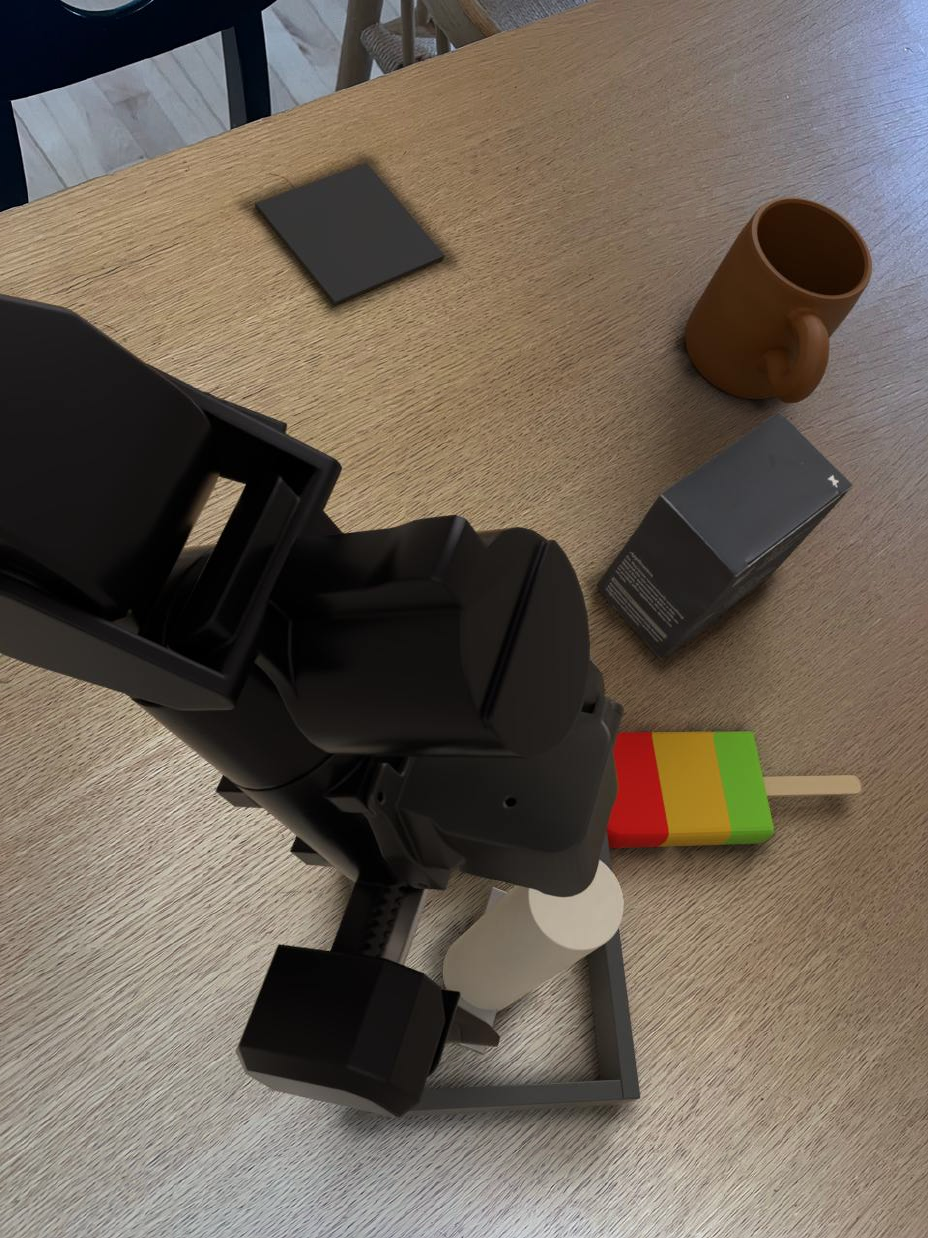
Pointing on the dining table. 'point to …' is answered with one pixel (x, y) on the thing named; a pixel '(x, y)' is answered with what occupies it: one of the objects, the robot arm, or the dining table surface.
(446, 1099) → the grey picture frame
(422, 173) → the dining table surface
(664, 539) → the box
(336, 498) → the dining table surface
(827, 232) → the mug
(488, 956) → the white tall round cylinder
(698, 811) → the popsicle
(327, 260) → the rubber mat
